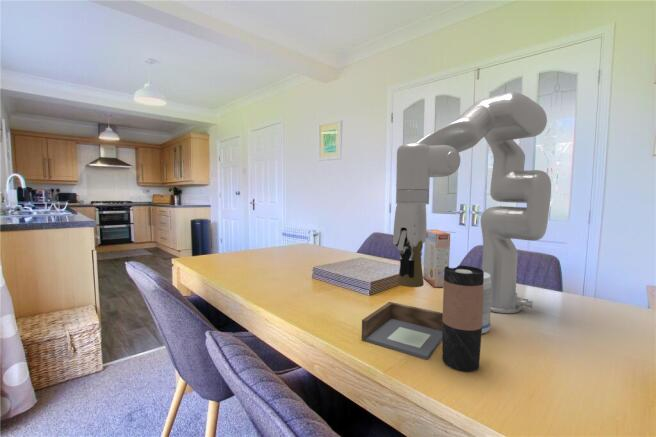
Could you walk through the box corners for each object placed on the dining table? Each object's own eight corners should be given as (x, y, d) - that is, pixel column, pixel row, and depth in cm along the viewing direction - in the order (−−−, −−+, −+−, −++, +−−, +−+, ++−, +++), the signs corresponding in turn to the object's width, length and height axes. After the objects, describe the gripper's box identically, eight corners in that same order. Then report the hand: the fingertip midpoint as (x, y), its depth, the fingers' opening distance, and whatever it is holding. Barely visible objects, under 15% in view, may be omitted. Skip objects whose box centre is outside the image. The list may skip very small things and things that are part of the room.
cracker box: (449, 288, 119) (451, 233, 118) (433, 287, 119) (435, 233, 118) (437, 278, 133) (438, 229, 132) (422, 278, 133) (424, 229, 132)
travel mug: (477, 377, 61) (482, 275, 60) (437, 365, 65) (440, 270, 64) (482, 359, 68) (486, 267, 66) (445, 350, 72) (448, 263, 70)
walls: (447, 333, 80) (447, 314, 80) (427, 360, 67) (428, 337, 67) (388, 318, 90) (389, 301, 89) (361, 340, 76) (361, 320, 76)
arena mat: (447, 333, 80) (447, 329, 80) (427, 360, 67) (427, 355, 67) (388, 318, 90) (389, 315, 89) (361, 340, 76) (361, 336, 76)
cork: (422, 280, 78) (423, 236, 77) (424, 287, 72) (426, 240, 71) (397, 279, 79) (398, 235, 78) (397, 286, 73) (398, 239, 72)
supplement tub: (479, 320, 89) (481, 269, 87) (497, 335, 79) (500, 278, 78) (444, 320, 88) (446, 269, 87) (458, 335, 79) (460, 278, 78)
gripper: (409, 197, 83) (408, 266, 84) (382, 198, 69) (381, 280, 70) (438, 197, 78) (436, 270, 80) (415, 198, 65) (413, 285, 66)
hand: (410, 273), depth 75 cm, fingers closed on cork, 4 cm apart
